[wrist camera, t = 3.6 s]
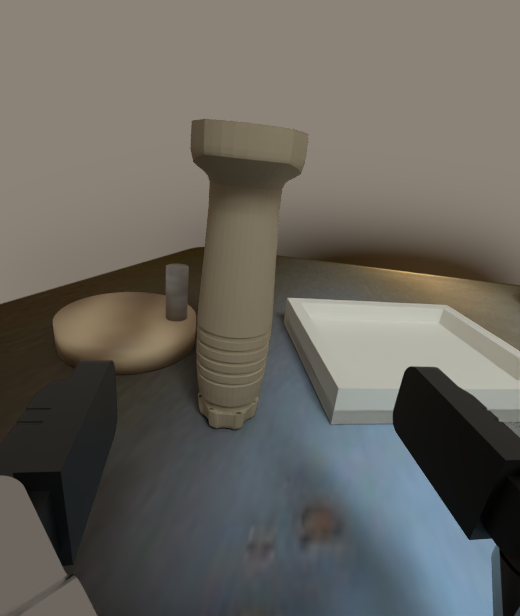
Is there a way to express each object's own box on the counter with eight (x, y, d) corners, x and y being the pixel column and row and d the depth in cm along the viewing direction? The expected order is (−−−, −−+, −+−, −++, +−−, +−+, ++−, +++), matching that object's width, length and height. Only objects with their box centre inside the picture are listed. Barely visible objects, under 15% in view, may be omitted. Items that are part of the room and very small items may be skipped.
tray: (331, 424, 22) (338, 388, 21) (283, 322, 34) (287, 297, 33) (563, 421, 24) (580, 389, 23) (439, 328, 37) (446, 305, 36)
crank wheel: (31, 373, 23) (17, 283, 21) (80, 311, 32) (74, 243, 30) (193, 375, 25) (197, 291, 23) (196, 315, 34) (199, 251, 32)
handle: (173, 452, 18) (180, 114, 13) (193, 379, 24) (204, 128, 19) (270, 458, 19) (317, 130, 13) (266, 385, 25) (298, 139, 19)
